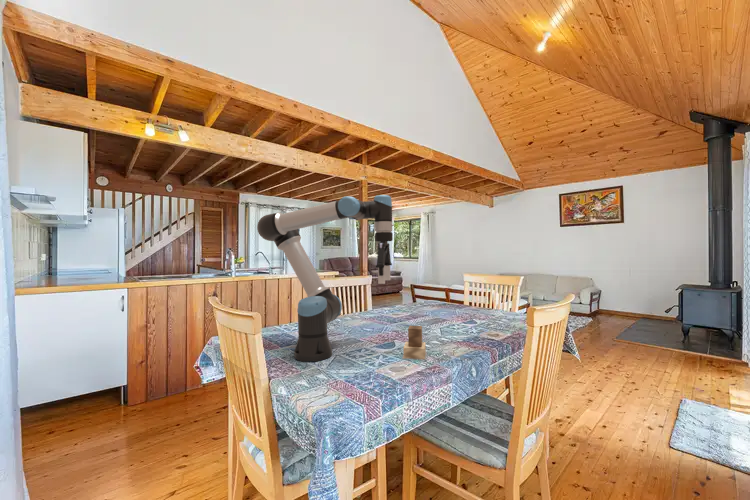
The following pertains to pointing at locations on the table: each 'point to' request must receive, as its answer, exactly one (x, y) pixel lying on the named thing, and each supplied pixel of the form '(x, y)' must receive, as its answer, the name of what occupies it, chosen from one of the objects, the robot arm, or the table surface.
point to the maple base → (415, 351)
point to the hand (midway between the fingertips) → (384, 281)
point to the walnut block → (415, 336)
